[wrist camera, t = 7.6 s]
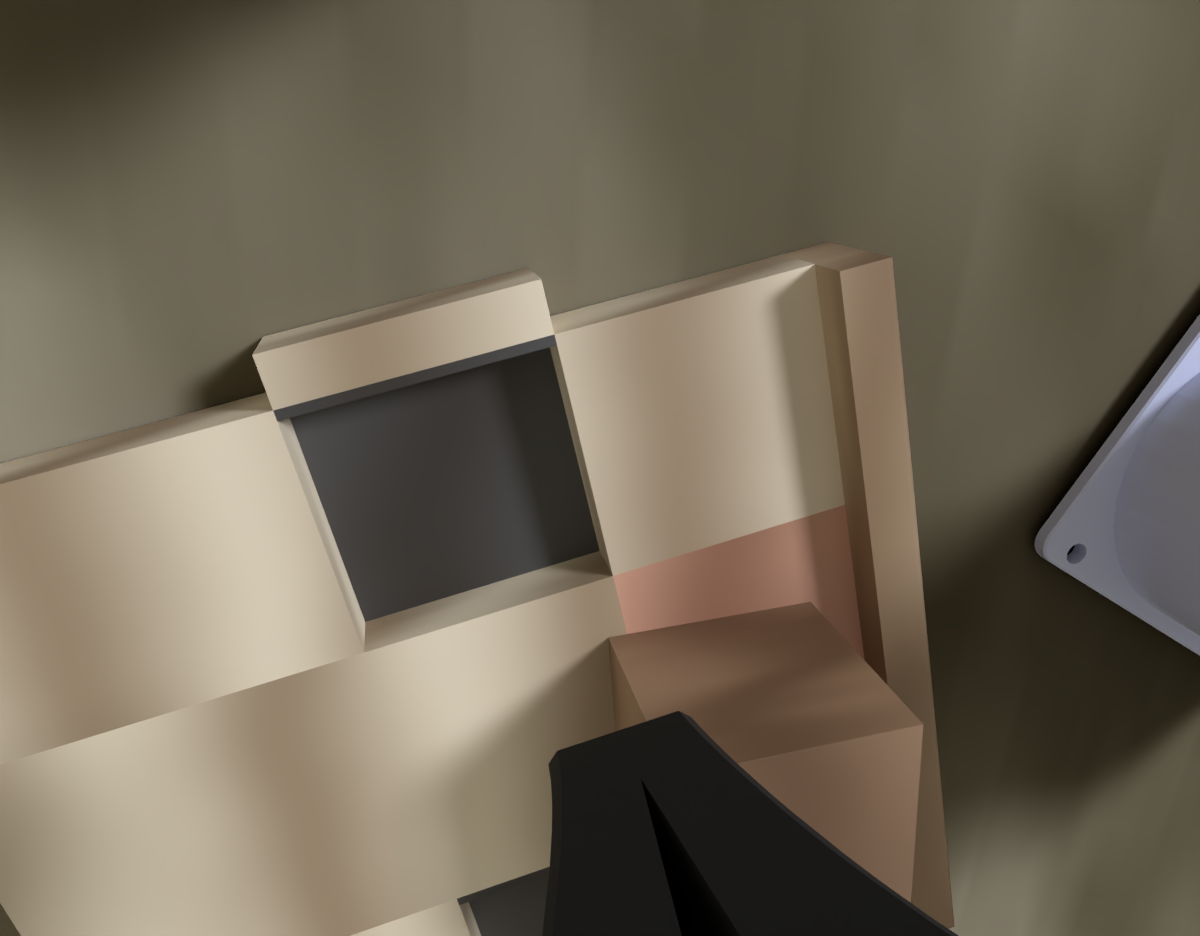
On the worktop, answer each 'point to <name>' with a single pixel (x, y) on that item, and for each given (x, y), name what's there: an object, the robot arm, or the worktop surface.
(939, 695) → the worktop surface
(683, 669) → the walnut block
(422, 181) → the worktop surface
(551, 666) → the trap board
